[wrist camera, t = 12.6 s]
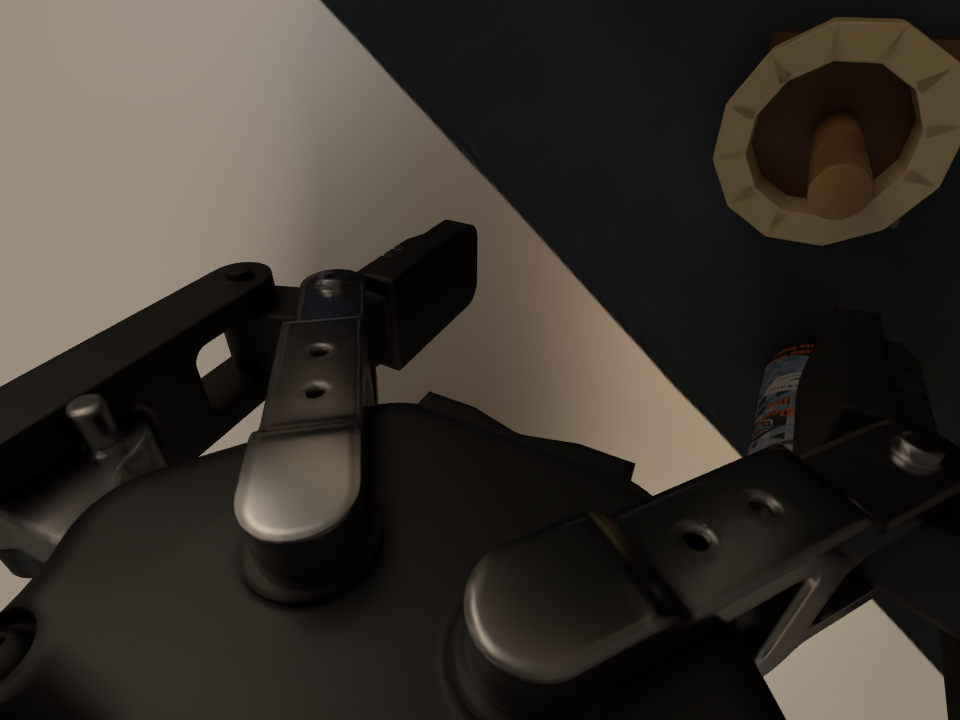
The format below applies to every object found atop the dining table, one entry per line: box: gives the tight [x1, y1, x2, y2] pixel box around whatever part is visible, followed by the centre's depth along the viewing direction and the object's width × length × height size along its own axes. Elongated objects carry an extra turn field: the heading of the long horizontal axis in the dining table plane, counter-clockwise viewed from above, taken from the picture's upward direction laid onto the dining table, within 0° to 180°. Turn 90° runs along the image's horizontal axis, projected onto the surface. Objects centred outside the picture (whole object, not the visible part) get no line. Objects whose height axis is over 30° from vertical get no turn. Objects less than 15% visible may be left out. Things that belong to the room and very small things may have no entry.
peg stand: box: [751, 30, 960, 228], centre depth 26 cm, size 9×9×12 cm
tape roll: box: [713, 17, 960, 246], centre depth 28 cm, size 10×10×3 cm
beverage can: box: [747, 341, 816, 456], centre depth 34 cm, size 6×7×12 cm
